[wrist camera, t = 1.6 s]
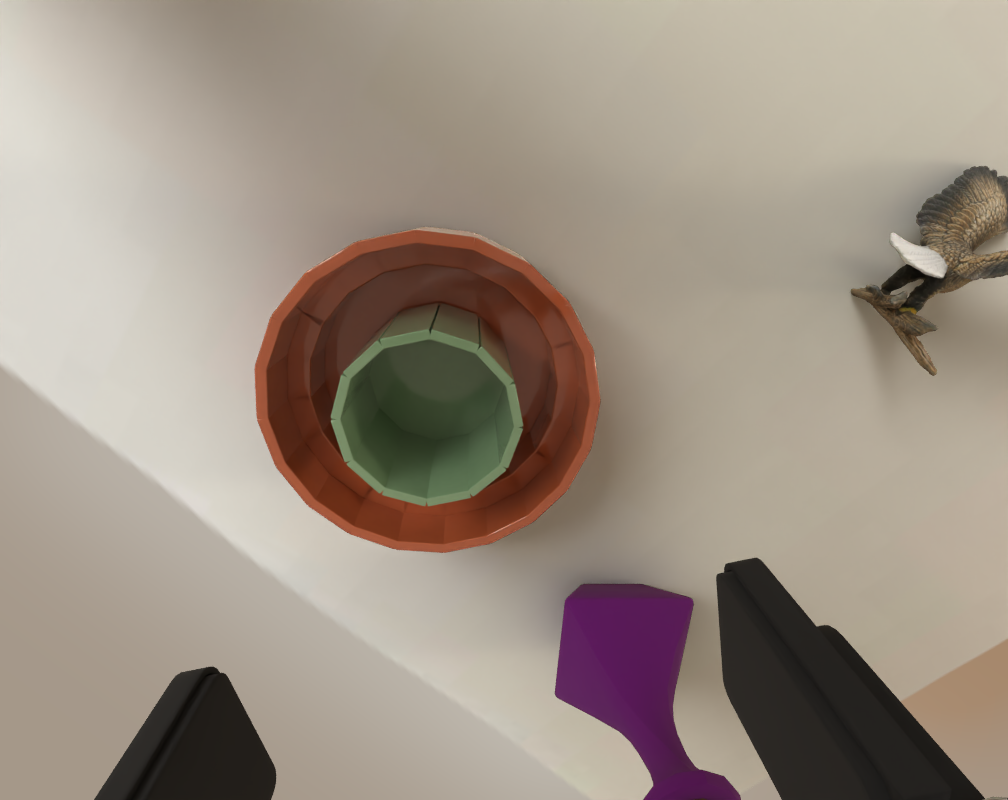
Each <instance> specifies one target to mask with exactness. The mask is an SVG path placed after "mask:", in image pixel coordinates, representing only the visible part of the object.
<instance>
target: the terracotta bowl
mask: <svg viewBox="0 0 1008 800" xmlns="http://www.w3.org/2000/svg"><path fill="white" fill-rule="evenodd" d="M433 303H439V304H440V305H441V303H444V304H447V305H450V306H453V307H456V308H459V309H462V310H465V311H468V312H472V313H475V314H477V315H478V317H479V316H480V317H481V318H482V319H483V320H484V321H485V322H486V323H487V324H488V325H489V327H490V328H491V329H492V330H493V331H494V332H495V333H496V334H497V335H498V337H499V338H500V339H501V340H502V341H503V342H504V344H505V346H506V348H507V352H508V356H509V360H510V365H511V369H512V373H513V377H514V381H515V385H516V390H517V395H518V400H519V405H520V410H521V416H522V421H523V426H522V427H523V431H522V434H521V436H520V439H519V441H518V444H517V446H516V449H515V452H514V454H513V457H512V459H511V462H510V465H509V467H508V468H506V471H505V472H504V473H502V474H501V475H500V476H499V477H497V478H496V479H495V480H494V481H492V482H491V483H490V484H489V485H487V486H486V487H485V488H484V489H482V490H481V491H480V492H479V493H477V494H476V495H475V496H474V497H473V496H472V495H471V498H468V499H463V500H458V501H453V502H448V503H443V504H438V505H433V506H427V503H426V506H421V505H417V504H414V503H410V502H406V501H402V500H398V499H395V498H391V497H387V496H383V495H382V493H383V491H382V492H381V493H380V494H379V493H378V492H377V491H376V490H375V489H373V488H372V487H371V486H370V485H369V484H368V483H367V482H365V481H364V480H363V479H362V478H361V477H360V476H359V475H358V474H356V473H355V472H354V471H353V470H352V469H351V468H350V467H348V466H347V462H344V459H343V456H342V453H341V450H340V447H339V444H338V441H337V438H336V435H335V432H334V429H333V427H332V424H331V420H332V418H331V413H332V409H333V405H334V401H335V397H336V393H337V389H338V385H339V381H340V377H341V375H342V374H343V371H344V370H345V369H346V368H347V366H348V365H349V364H350V363H351V362H352V360H353V359H354V358H355V357H356V355H357V354H358V353H359V352H360V351H361V349H362V348H363V347H364V346H365V344H366V343H367V342H368V341H369V340H370V338H371V337H372V336H373V335H374V334H375V333H376V332H377V331H378V330H379V329H380V328H382V327H383V326H384V325H385V324H386V323H387V322H388V321H389V320H390V319H391V318H392V317H393V316H395V315H396V314H397V313H398V312H401V310H404V309H409V308H414V307H419V306H424V305H429V304H433ZM255 389H256V412H257V421H258V423H259V426H260V428H261V431H262V433H263V436H264V439H265V441H266V444H267V446H268V449H269V451H270V454H271V456H272V459H273V461H274V464H275V466H276V468H277V469H278V470H279V471H280V473H281V474H282V475H283V476H284V477H285V479H286V480H287V481H288V482H289V484H290V485H291V486H292V487H293V488H294V490H295V491H296V492H297V493H298V495H299V496H300V497H301V498H302V499H303V501H304V502H305V503H306V504H307V505H308V506H309V507H310V508H312V509H313V510H315V511H316V512H318V513H319V514H321V515H322V516H324V517H325V518H327V519H328V520H329V521H331V522H332V523H334V524H335V525H337V526H338V527H340V528H341V529H343V530H344V531H346V532H347V533H349V534H351V535H354V536H357V537H360V538H363V539H366V540H369V541H372V542H375V543H378V544H381V545H383V546H386V547H389V548H392V549H396V550H409V551H424V552H439V553H443V552H444V553H446V552H451V551H456V550H461V549H466V548H471V547H476V546H481V545H486V544H490V543H493V542H495V541H497V540H499V539H501V538H503V537H505V536H507V535H509V534H511V533H513V532H515V531H517V530H519V529H521V528H523V527H525V526H527V525H529V524H531V523H532V522H534V521H535V520H536V519H537V518H538V517H539V516H541V515H542V514H543V513H544V512H545V511H546V510H547V509H548V508H549V507H550V506H551V505H552V504H553V503H554V502H556V501H557V500H558V499H559V498H560V497H561V496H562V495H563V494H564V493H565V492H566V491H567V490H568V489H569V487H570V485H571V483H572V482H573V480H574V478H575V476H576V475H577V473H578V471H579V469H580V468H581V466H582V464H583V462H584V461H585V459H586V457H587V455H588V454H589V452H590V450H591V447H592V442H593V437H594V432H595V427H596V422H597V417H598V412H599V407H600V400H601V399H600V391H599V384H598V377H597V369H596V362H595V354H594V350H593V348H592V346H591V344H590V342H589V340H588V338H587V336H586V334H585V332H584V330H583V328H582V326H581V324H580V322H579V320H578V318H577V316H576V314H575V312H574V310H573V308H572V306H571V304H570V303H569V301H568V300H567V299H566V298H565V297H564V296H562V295H561V294H560V293H559V292H558V291H557V290H556V289H555V288H554V287H553V286H552V285H551V284H550V283H549V282H548V281H547V280H546V279H545V278H544V277H543V276H542V275H541V274H540V273H539V272H538V271H537V270H536V269H535V268H534V267H533V266H532V265H531V264H530V263H529V262H527V261H526V260H525V259H524V258H523V257H522V256H521V255H520V254H518V253H516V252H514V251H512V250H510V249H508V248H506V247H504V246H502V245H500V244H498V243H496V242H494V241H492V240H490V239H487V238H485V237H483V236H481V235H479V234H477V233H473V232H467V231H459V230H452V229H444V228H436V227H420V228H415V229H410V230H405V231H401V232H396V233H391V234H386V235H381V236H377V237H373V238H368V239H364V240H360V241H357V242H354V243H353V244H351V245H349V246H348V247H346V248H344V249H343V250H341V251H339V252H338V253H336V254H334V255H333V256H331V257H329V258H328V259H326V260H324V261H323V262H321V263H320V264H318V265H316V266H315V267H313V268H311V269H310V270H308V271H307V272H306V273H304V275H303V276H302V277H301V278H300V280H299V281H298V282H297V283H296V285H295V286H294V287H293V289H292V290H291V291H290V292H289V294H288V295H287V296H286V297H285V299H284V300H283V301H282V302H281V304H280V305H279V306H278V307H277V309H276V310H275V311H274V312H273V314H272V316H271V317H270V320H269V323H268V326H267V330H266V333H265V336H264V339H263V342H262V345H261V348H260V351H259V355H258V358H257V361H256V364H255Z"/></svg>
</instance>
